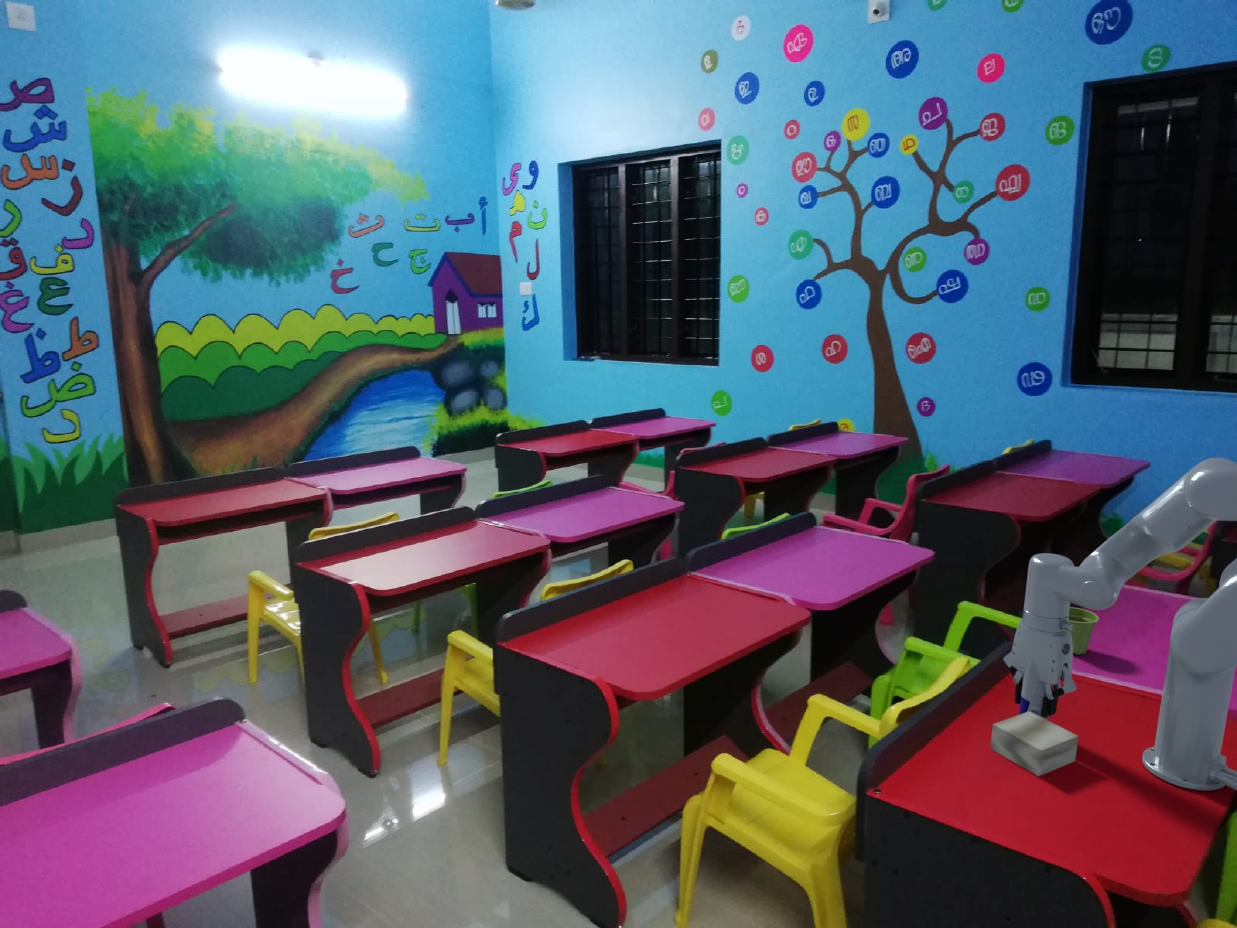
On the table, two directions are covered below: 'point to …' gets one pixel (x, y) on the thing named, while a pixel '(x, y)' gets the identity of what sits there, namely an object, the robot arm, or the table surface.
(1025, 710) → the beverage can
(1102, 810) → the table surface
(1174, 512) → the robot arm
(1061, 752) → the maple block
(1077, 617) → the plant pot
